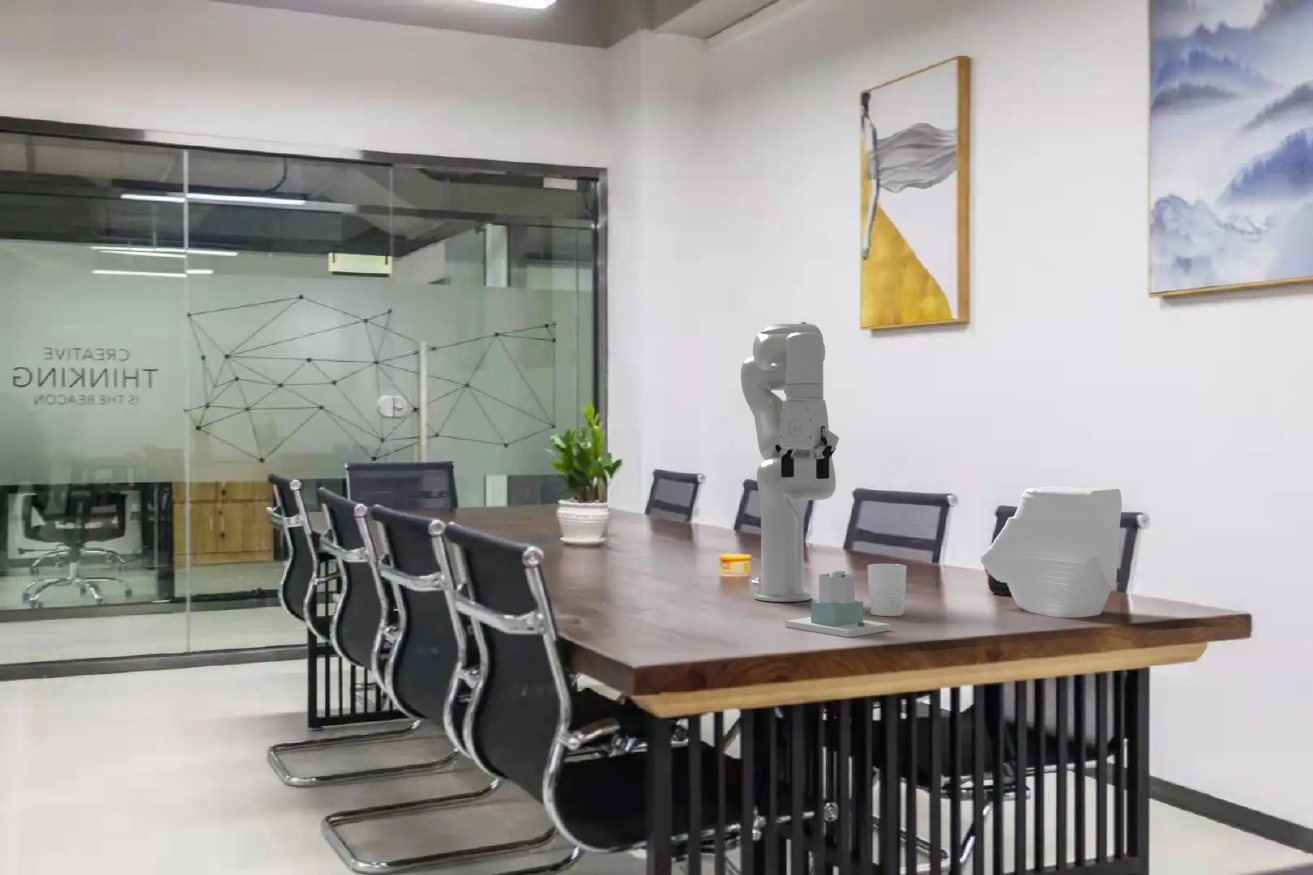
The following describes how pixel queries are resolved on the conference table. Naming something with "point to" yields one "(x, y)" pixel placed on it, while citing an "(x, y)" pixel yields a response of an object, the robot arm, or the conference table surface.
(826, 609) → the pedestal
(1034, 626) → the conference table surface
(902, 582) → the white cup
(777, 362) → the robot arm
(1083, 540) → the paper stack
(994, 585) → the mate gourd
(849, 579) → the grey hollow octagonal block
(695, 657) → the conference table surface
